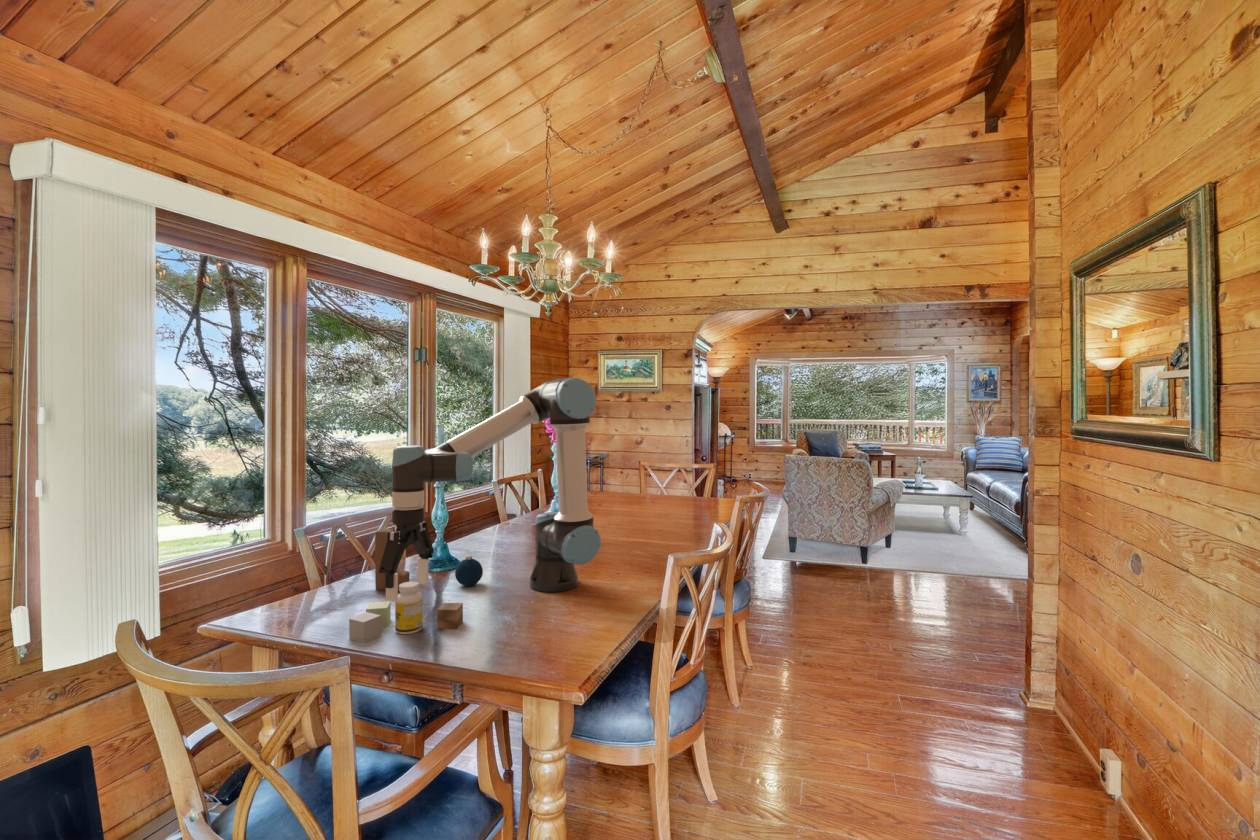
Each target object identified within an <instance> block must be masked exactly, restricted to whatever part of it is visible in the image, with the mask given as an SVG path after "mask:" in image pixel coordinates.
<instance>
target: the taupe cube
mask: <svg viewBox="0 0 1260 840" xmlns="http://www.w3.org/2000/svg"><path fill="white" fill-rule="evenodd" d="M348 621H349V622H348V625H349V626H348V630H349V632H348V634H349V635H348V636H349V638H348V639H349V640H353V641H356V642H359V643H366V642H368V641H371V640H373V639H376V638H378V637H380V636H382V627H381V615H377V614H373V613H369V612H366V611H365V612H363V613H360V614H358V615H356V616H353V617H351V618H349V620H348Z"/></svg>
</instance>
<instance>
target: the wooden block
mask: <svg viewBox="0 0 1260 840" xmlns="http://www.w3.org/2000/svg"><path fill="white" fill-rule="evenodd" d="M389 531H391V532H396V529H394V528H380V529H378V530H376V531H375V532H374V546H375V547H374V550H375V551H374V555H375V556H374V557H375V559H374V561H375V562H374V564H375V565H374V569H375V574H374V575H375V576H374V577H375V587H374V588H375V590H376V591H386V587H385V574H381V573H379V568H380V564H381V561H382V557H383V554H384V550H385V546H386V543H387V534H388V532H389ZM395 573H398V591H399V585H400V584H402V583H405V582H410V571H407V570H402V569H400V568H399V566H398V567H397V570H396V572H395Z"/></svg>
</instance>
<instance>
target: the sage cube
mask: <svg viewBox="0 0 1260 840" xmlns="http://www.w3.org/2000/svg"><path fill="white" fill-rule="evenodd" d="M366 612H369V613H373V614H377V615H381V628H388V626H389V624H390V621H391V620H392V618H391V617H392V615H391V601H377V602H376V601H375V602H369V604H368V606H367V607H366V608H365V613H366Z"/></svg>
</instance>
